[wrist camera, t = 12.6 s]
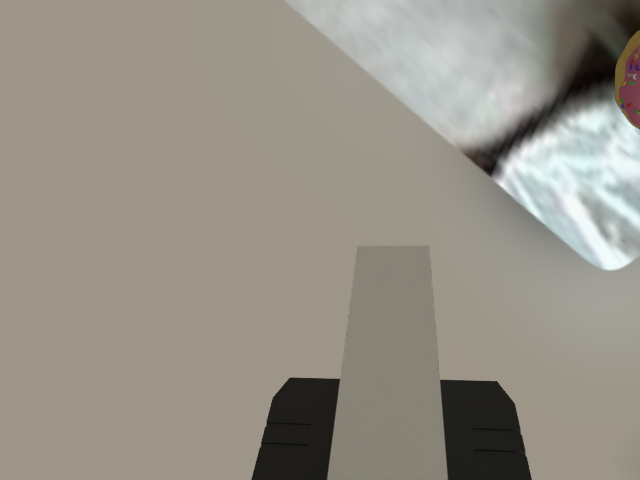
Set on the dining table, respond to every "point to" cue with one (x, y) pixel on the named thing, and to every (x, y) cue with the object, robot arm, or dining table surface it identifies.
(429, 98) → the dining table surface
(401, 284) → the robot arm
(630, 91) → the cupcake
